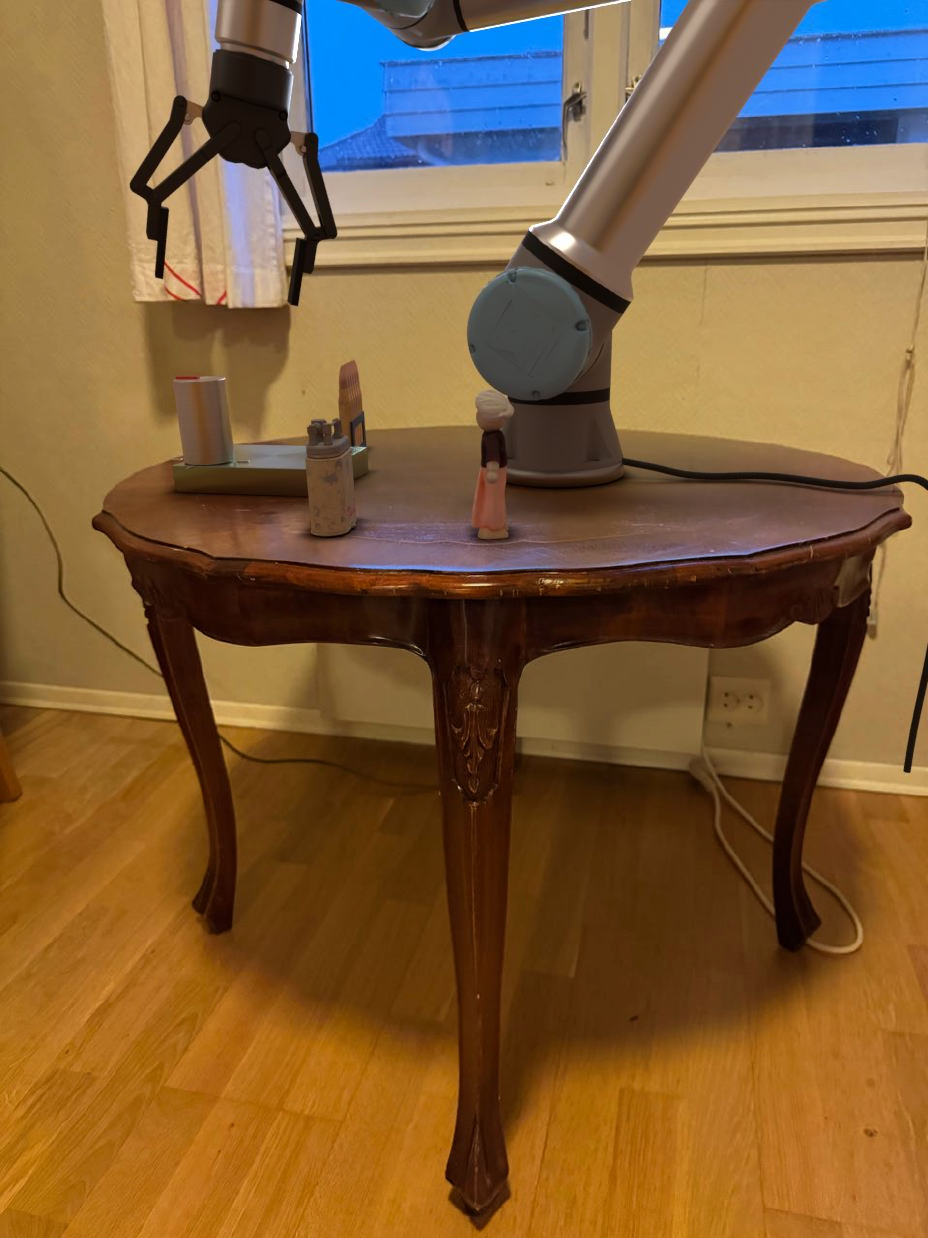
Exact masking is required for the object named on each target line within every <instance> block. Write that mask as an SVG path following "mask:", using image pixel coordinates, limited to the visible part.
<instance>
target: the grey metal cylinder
mask: <svg viewBox="0 0 928 1238" xmlns="http://www.w3.org/2000/svg"><path fill="white" fill-rule="evenodd" d="M172 384H173V392H174V399H175V406H176V407H175V408H176V415H177V421H178V429H179V436H180V442H181V450H182V457H183V458H182V459H183V462H184V463H186V464H189V465H214V464H222V463H227V462H231V461H233V460H234V459H235V455H234V446H233V444H234V438H233V430H232V423H231V422H232V420H231V412H230V404H229V395H228V387H227V378H226V377H225V376H214V375H213V376H210V375H209V376H200V375H176V376H175V379H173V380H172Z"/></svg>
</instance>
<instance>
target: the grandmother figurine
mask: <svg viewBox="0 0 928 1238" xmlns="http://www.w3.org/2000/svg"><path fill="white" fill-rule="evenodd" d="M474 403H475V408H476V409H477V411H476V413H475V420H476V424H477V426H478V427H479V428H480V429H481V430H482V431H483V432H482V433H481V440H480V456H481V457H480V468H479V472H478V476H477V480H476V486H475V491H474V497H473V502H472V511H471V522H470V523H471V527H472V528H474V529H475V528H476V529H479V530H478V533H477V538H478V539H481V540H502V539H506V538H509V536H510V535H509V530H510V527H509V525H508V524H507V522H506V520H507V505H506V499H505V490H506V486H507V485H506V484H507V482H506V467H507V451H506V444H505V437H504V435H503V433H502V431H501V428H502V427H503V426H504V424H505V420H506V418H510V417H511V416H512V415H513V414H514V408H513V407H512V405H511V404H510V402H509V400H508V398H507V396H506V395H504V394H502V393H500V392H499V391H497V390H496V389H494V388H490V389H484V390H481V391H480V392H479V393H478V394H477V395H476V397H475V401H474Z"/></svg>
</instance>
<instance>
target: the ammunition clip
mask: <svg viewBox="0 0 928 1238" xmlns="http://www.w3.org/2000/svg"><path fill="white" fill-rule="evenodd" d="M338 375H339V376H338V400H337V401H338V419H341V423H342V424H341V433H342V434H344V436H347V437H348V438H349V447H367V433H366V419H365V410H363V397H362V395H363V394H362V389H361V382H360V374H359V369H358V365H357V362H356V360H355V359H352V360H350V361H348V362H346V363H344V364H341V365H340V368H339V373H338ZM367 448H368V447H367Z"/></svg>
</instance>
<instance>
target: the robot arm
mask: <svg viewBox="0 0 928 1238" xmlns="http://www.w3.org/2000/svg"><path fill="white" fill-rule="evenodd" d="M336 1H337V2H340V3H344V4H348V5H352V6H355V7H359V8H360V9H362V10H363V11H364V12H365V13H367V14H368V15H369V16H370V17H372V18H373V19H374V20H375V21H377V22H379V24H381V25H383V26H384V27H385V28H386V29H387V30H389V31H390V32H391V33H392V34H393V35H394V36H395V38H396V39H398V40H399V41H400V42H402V43H404V44H405V45H406V46H408V47H411V48H414V49H418V50H420V51H424V52H425V51H426V52H432V51H437V50H440V49H442V48H444V47H445V46H447V45H448V44H449V43H450V42H452V40H454V38H455V37H456V36H458V35H463V34H465V33H470V32H477V31H481V30H486V29H492V28H496V27H501V26H507V25H512V24H518V23H522V22H528V21H533V20H538V19H541V18H547V17H548V18H549V17H553V16H558V15H562V14H569V13H573V12H579V11H582V10H584V11H585V10H588V9H593V8H599V7H603V6H608V5H615V4H619V3H623V2H624V3H625V2H629V1H630V0H336ZM827 1H828V0H688V2H687V3H686V5H685V7H683V10H682V11H681V12H680V15H679V16H678V18H677V19H676V21H675V23H674V24H673V26H672V28H671V29H670V31H669V32H668V34H667V36H666V37H665V39H664V41H663V42H662V44H661V46H659V48H658V50H657V52H656V54H655V55H654V57H653V59H652V60H651V62H650V64H649V65H648V66H647V68H646V69H645V71H644V73H643V75H642V76H641V78H640V79H639V81H638V83H637V85H636V86H635V87H634V89H633V91H632V93H631V95H630V96H629V97H628V99H627V101H626V103H625V104H624V105H623V107H622V109H621V111H620V112H619V114H618V115H617V117H616V119H615V120H614V121H613V123H612V125H611V127H610V128H609V130H608V132H607V133H606V135H605V137H604V138H603V139H602V141H601V143H600V145H599V147H598V148H597V149H596V151H595V153H594V155H593V156H592V158H591V159H590V161H589V163H588V164H587V166H586V167H585V169H584V171H583V172H582V174H581V176H580V178H579V179H578V180H577V182H576V184H575V185H574V188H573V189H572V191H571V192H570V193H569V195H568V197H567V198H566V200H565V201H564V203H563V205H562V206H561V208H560V210H559V211H558V213H557V215H556V216H555V217H554V218H552V219H550V220H549V221H545V222H541V223H537V224H533V225H531V226H530V227H529V229H528V230H527V232H526V233H525V235H524V237H523V238H522V240H521V242H520V243H519V245H518V247H517V248H516V249H515V251H514V253H513V255H512V257H511V258H510V260H509V262H508V263H507V265H506V267H505V268H504V270H503V271H502V272H500V273H498V274H497V275H496V276H495V277H494V278H493V279H491V280H488V282H487V284H486V285H485V286H484V287H483V288H482V289H481V291H480V292H479V293H478V294H477V297H476V298H475V300H474V301H473V303H472V306H471V309H470V311H469V315H468V319H467V326H466V342H467V347H468V353H469V355H470V358H471V360H472V363H473V365H474V367H475V368H476V370H477V372H478V373H479V375H480V376H481V378H482V379H483V380H484V381H485V382H486V383H487V384H488V385H489V386H490V387H491V388H492V389H493V390H496V391H498V392H500V393H502V394H503V395H504V396H505V397H507V398H508V400H509V402H510V404H511V405H512V407H513V408H514V414H513V415H512V416H511V417H510V418H506V420H505V424H504V426H503V427H502V428H501V429H500V430H501V431H502V433H503V435H504V437H505V444H506V451H507V467H506V483H509V484H514V485H519V486H528V487H541V488H542V487H543V488H573V487H587V486H593V485H594V486H595V485H601V484H606V483H610V482H613V481H616V480H618V479H620V478H622V477H623V476H624V467H625V466H626V467H632V468H638V469H641V470H648V471H653V472H656V473H660V474H665V475H669V476H673V477H678V478H681V479H690V480H702V481H733V480H734V481H735V480H737V481H738V480H761V481H763V480H764V481H775V482H776V481H779V482H787V483H794V484H801V485H808V486H815V487H821V488H829V489H838V490H839V489H840V490H854V491H866V490H872V489H873V490H874V489H879V488H883V487H888V486H891V485H894V484H900V483H908V482H909V483H914V484H917V485H919V486H921V487H922V488H923V489H925V490H926V491H928V479H927V478H925V477H924V476H922V475H918V474H913V473H903V474H896V475H892V476H889V477H883V478H880V479H879V478H878V479H875V480H869V481H847V480H836V479H834V480H833V479H826V478H819V477H813V476H812V477H811V476H805V475H799V474H789V473H780V472H768V471H766V472H765V471H734V472H732V471H731V472H704V471H703V472H702V471H691V470H685V469H684V470H683V469H679V468H678V469H677V468H674V467H669V466H666V465H662V464H657V463H652V462H649V461H642V460H637V459H632V458H627V457H624V453H623V450H622V446H621V443H620V439H619V435H618V431H617V429H616V424H615V422H614V418H613V414H612V410H611V385H612V384H611V382H612V354H613V353H612V352H613V351H612V350H613V330H614V329H615V327H616V326H617V324H618V323H619V321H620V320H621V318H622V317H623V316H624V314H625V313H626V311H627V309H628V308H629V306H630V305H631V303H632V302H633V300H634V299H635V295H634V289H633V280H632V276H633V272H634V270H635V268H636V267H637V266H638V264H639V262H640V261H641V260H642V258H643V257H644V255H645V254H646V252H647V251H648V250H649V248H650V247H651V245H652V243H653V242H654V240H655V239H656V237H657V236H658V235H659V233H660V232H661V230H662V229H663V227H664V226H665V224H666V223H667V221H668V220H669V218H670V217H671V215H672V213H673V212H674V211H675V209H676V208H677V206H678V205H679V203H680V202H681V200H682V199H683V197H684V196H685V194H686V193H687V191H688V190H689V188H690V187H691V185H692V184H693V183H694V181H695V180H696V178H697V176H698V175H699V174H700V172H701V171H702V169H703V168H704V166H705V165H706V163H707V162H708V160H709V159H710V157H711V156H712V154H713V153H714V152H715V150H716V148H717V147H718V145H719V144H720V143H721V141H722V140H723V138H724V137H725V135H726V134H727V132H728V130H729V129H730V127H731V126H732V125H733V123H734V122H735V120H736V119H737V117H738V116H739V114H740V113H741V111H742V110H743V108H744V107H745V106H746V104H747V103H748V101H749V99H750V98H751V97H752V95H753V93H754V92H755V91H756V89H757V88H758V86H759V85H760V83H761V82H762V81H763V79H764V77H765V76H766V74H767V73H768V72H769V70H770V68H771V67H772V66H773V64H774V62H775V61H776V59H777V58H778V57H779V55H780V54H781V52H782V50H783V49H784V47H785V46H786V44H787V43H788V41H789V40H790V38H791V37H792V36H793V34H794V33H795V32H796V30H797V28H798V27H799V25H800V24H801V22H802V21H803V19H804V18H805V16H806V15H807V13H808V12H809V10H810V9H811V8H812V7H813V6H815V5H816V4H820V3H822V2H827ZM304 2H305V0H217V6H216V7H217V10H216V17H215V18H216V19H215V28H214V40H215V42H216V43H217V44H219V48H216V49H215V51H212V57H211V68H210V76H209V77H210V78H209V79H210V80H209V87H208V96H207V100H206V103H205V104H204V106H203V105H201V104H198V103H196V102H193V101H191V100H188V99H187V98H186V97H185V96H184V95H181V94H179V95H176V96H175V97H174V98H173V100H172V105H171V109H170V114H169V119H168V121H167V123H166V124H165V126H164V127H163V128H162V131H161V132H160V134H159V135H158V137H157V138H156V139H155V142H154V143H153V145H152V146H151V148H150V150H149V151H148V153H147V154H146V155H145V157H144V159H143V161H142V162H141V163H140V165H139V167H138V168H137V170H136V172H135V173H134V175H133V176H132V178H131V180H130V182H129V189H130V190H131V192H132V193H134V195H137V196H138V197H140V198H142V199H143V200H145V202H146V204H147V211H146V223H145V224H146V225H145V228H146V229H145V234H146V238H147V240H150V241H154V242H156V252H155V255H156V256H155V266H154V278H155V279H160V280H164V273H165V263H166V262H165V261H166V252H167V251H166V250H167V242H168V241H167V239H168V230H169V229H168V227H169V218H170V217H169V216H170V214H169V213H170V208H169V206H168V207H167V206H163V205H162V204H163V203H164V202H165V201H166V200H167V199H168V198H170V196H172V195H173V193H175V192H176V191H177V190H179V188H181V187H182V186H183V185H184V184H185V183H186V182H187V181H188V180H190V179H191V178H192V177H193V176H194V175H195V174H196V173H197V172H198V171H200V170H201V169H202V168H203V167H204V166H205V165H206V164H207V163H210V161H211V160H213V159H214V158H215V157H216V156H217V155H218V156H219V157H220V158H222V160H224V161H225V162H229V163H232V164H243V165H245V166H246V167H249V168H251V169H256V170H262V169H265V168H266V169H267V170H268V172H269V174H270V176H271V177H272V178H273V180H274V182H275V184H276V186H277V188H278V190H279V191H280V193H281V195H282V197H283V199H284V200H285V202H286V205H287V206H288V208H289V210H290V212H291V213H292V215H293V217H294V219H295V221H296V222H297V224H298V227H299V228H300V230H301V232H302V233H303V236H304V237H303V238H302V237H297V236H296V238H295V243H294V251H293V257H292V258H293V259H292V266H291V272H290V279H289V287H288V294H287V303H289V304H290V306H295V307H299V303H300V297H301V290H302V289H301V288H302V282H303V277H304V276H303V275H304V274H308V275H312V274H313V272H314V269H315V263H316V257H317V249H318V246H319V243H320V242H321V241H326V240H335V239H337V237H338V229H337V225H336V221H335V217H334V214H333V210H332V207H331V203H330V199H329V195H328V192H327V188H326V184H325V180H324V176H323V173H322V169H321V165H320V162H319V161H320V160H319V143H320V142H319V141H320V139H319V136H318V134H317V133H316V132H313V131H307V132H302V131H295V130H291V128H290V124H289V114H290V107H291V100H292V99H291V98H292V91H293V83H294V77H295V76H294V75H293V72H292V70H291V69H290V68H289V65H293V64H295V63H296V62H297V54H298V45H299V38H300V29H301V22H302V16H303V6H304ZM197 118H200V119H201V122H202V124H203V126H204V128H205V131H206V132H207V134H208V136H209V138H208V140H206V141H205V142H204V143H203V144H202V145H201V146H199V148H198V149H197V150H195V152H193V153H192V154H191V155H190V156H189V157H188V158H187V159H185V160H184V161H183V162H182V163H181V164H180V165H179V166H177V168H175V169H174V170H173V171H172V172H171V173H170V174H168V176H166V177H165V178H164V179H163V180H162V181H161V182H160V183H159V184H157V185H156V186H154V188H153V187H151V186H150V185H148V182H149V181H150V180H151V179H152V176H153V175H154V173H155V172H156V170H157V169H158V167H159V165H160V164H161V162H162V161H163V159H164V158H165V157H166V155H167V153H168V151H169V150H170V148H171V147H172V145H173V143H174V142H175V140H176V139H177V138H178V136H179V134H180V132H181V131H182V129H183V127H184V125H185V126H190V125H192V124H193V123H194V120H195V119H197ZM290 143H291V144H292V145H293V146H294V149H295V152H296V154H297V155H299V156H301V157H302V164H303V169H304V172H305V176H306V179H307V182H308V186H309V190H310V193H311V197H312V201H313V204H314V208H315V211H316V215H317V219H318V223H319V225H318V226H316V225H315V223H314V221H313V219H312V217H311V215H310V213H309V212H308V210H307V208H306V206H305V204H304V202H303V201H302V199H301V197H300V195H299V193H298V191H297V189H296V187H295V186H294V183H293V182H292V180H291V178H290V176H289V174H288V173H287V172H288V171H287V169H286V167H285V165H284V164H283V162H282V160H281V157H280V156H279V155H280V154H281V153H282V152H283V151H284V150H285V148H287V146H289V144H290ZM925 650H926V651H925V656H924V660H923V665H922V670H921V674H920V675H921V676H920V679H919V684H918V688H917V694H916V697H915V698H916V699H915V703H914V708H913V713H912V717H911V723H910V728H909V732H908V739H907V743H906V749H905V756H904V762H903V768H902V769H903V770H902V772H904V773H905V774H910V773H911V772H912V766H913V760H914V754H915V753H914V752H915V748H916V742H917V737H918V731H919V725H920V721H921V716H922V711H923V707H924V702H925V696H926V692H927V688H928V643H927V645H926V649H925ZM911 774H912V773H911Z"/></svg>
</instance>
